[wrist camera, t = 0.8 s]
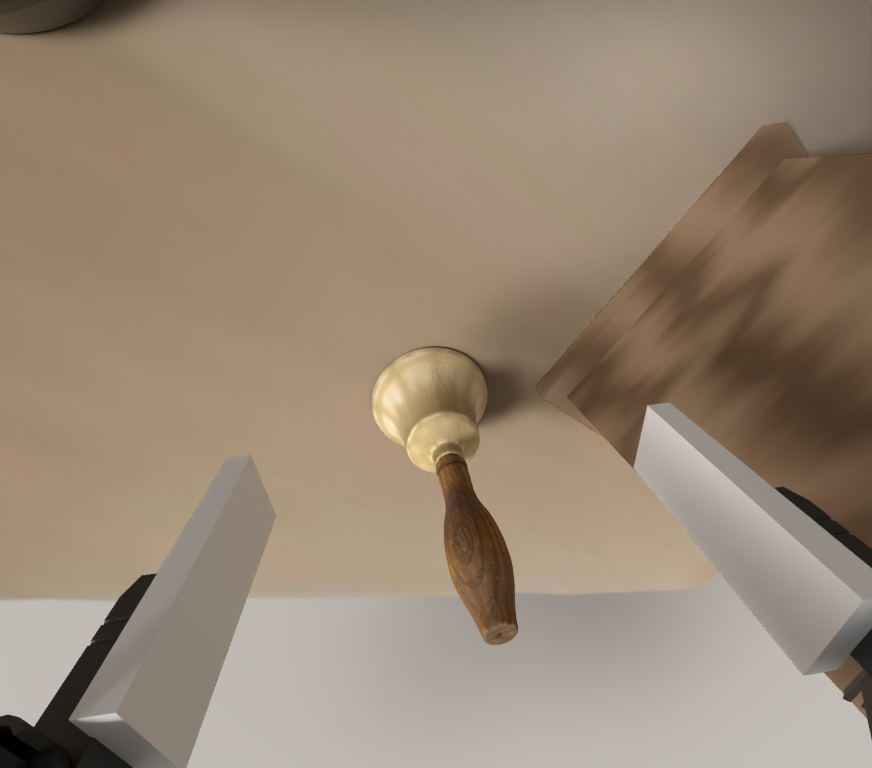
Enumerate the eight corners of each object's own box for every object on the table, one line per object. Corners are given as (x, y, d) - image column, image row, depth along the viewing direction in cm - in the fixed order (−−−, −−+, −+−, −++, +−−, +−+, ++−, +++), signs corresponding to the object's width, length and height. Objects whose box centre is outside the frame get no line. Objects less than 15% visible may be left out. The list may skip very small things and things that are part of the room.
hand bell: (506, 368, 27) (658, 570, 13) (457, 458, 30) (535, 699, 16) (396, 329, 24) (433, 529, 10) (355, 432, 27) (340, 694, 13)
